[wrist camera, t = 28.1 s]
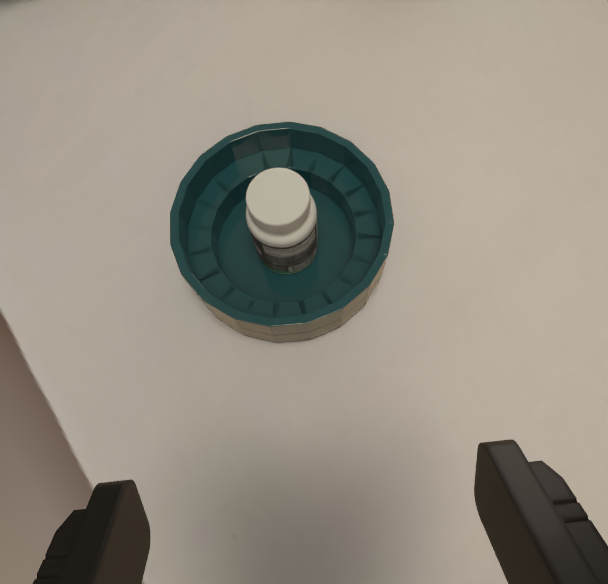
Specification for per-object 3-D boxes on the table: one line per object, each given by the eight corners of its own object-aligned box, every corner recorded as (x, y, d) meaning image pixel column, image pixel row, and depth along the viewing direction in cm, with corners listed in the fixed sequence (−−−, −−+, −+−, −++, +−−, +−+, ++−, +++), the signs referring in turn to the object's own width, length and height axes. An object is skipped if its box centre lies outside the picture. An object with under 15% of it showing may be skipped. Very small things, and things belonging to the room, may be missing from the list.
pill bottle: (263, 215, 40) (248, 156, 32) (322, 224, 39) (322, 166, 31) (251, 271, 38) (232, 223, 30) (312, 280, 38) (309, 235, 30)
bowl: (274, 385, 36) (265, 374, 31) (152, 241, 40) (126, 209, 35) (424, 255, 39) (440, 225, 34) (296, 131, 43) (293, 86, 37)
